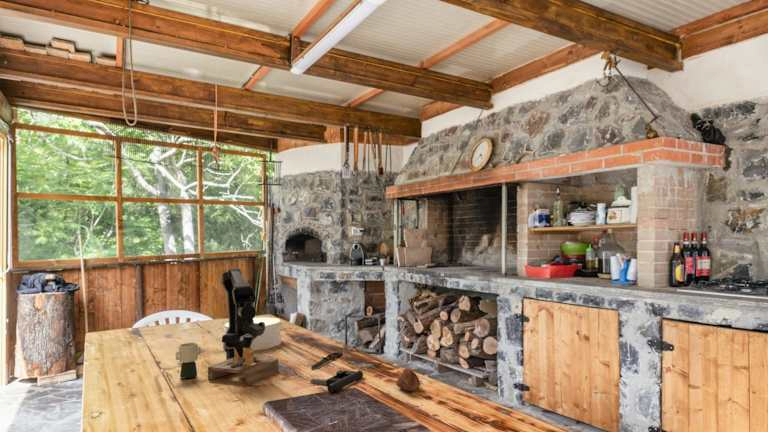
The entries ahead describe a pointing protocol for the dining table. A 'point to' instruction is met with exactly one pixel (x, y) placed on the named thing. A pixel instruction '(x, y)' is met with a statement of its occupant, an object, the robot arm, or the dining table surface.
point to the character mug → (188, 359)
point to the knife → (326, 360)
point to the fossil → (408, 380)
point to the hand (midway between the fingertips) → (243, 356)
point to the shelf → (245, 368)
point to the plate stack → (266, 333)
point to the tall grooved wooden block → (247, 354)
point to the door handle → (339, 380)
